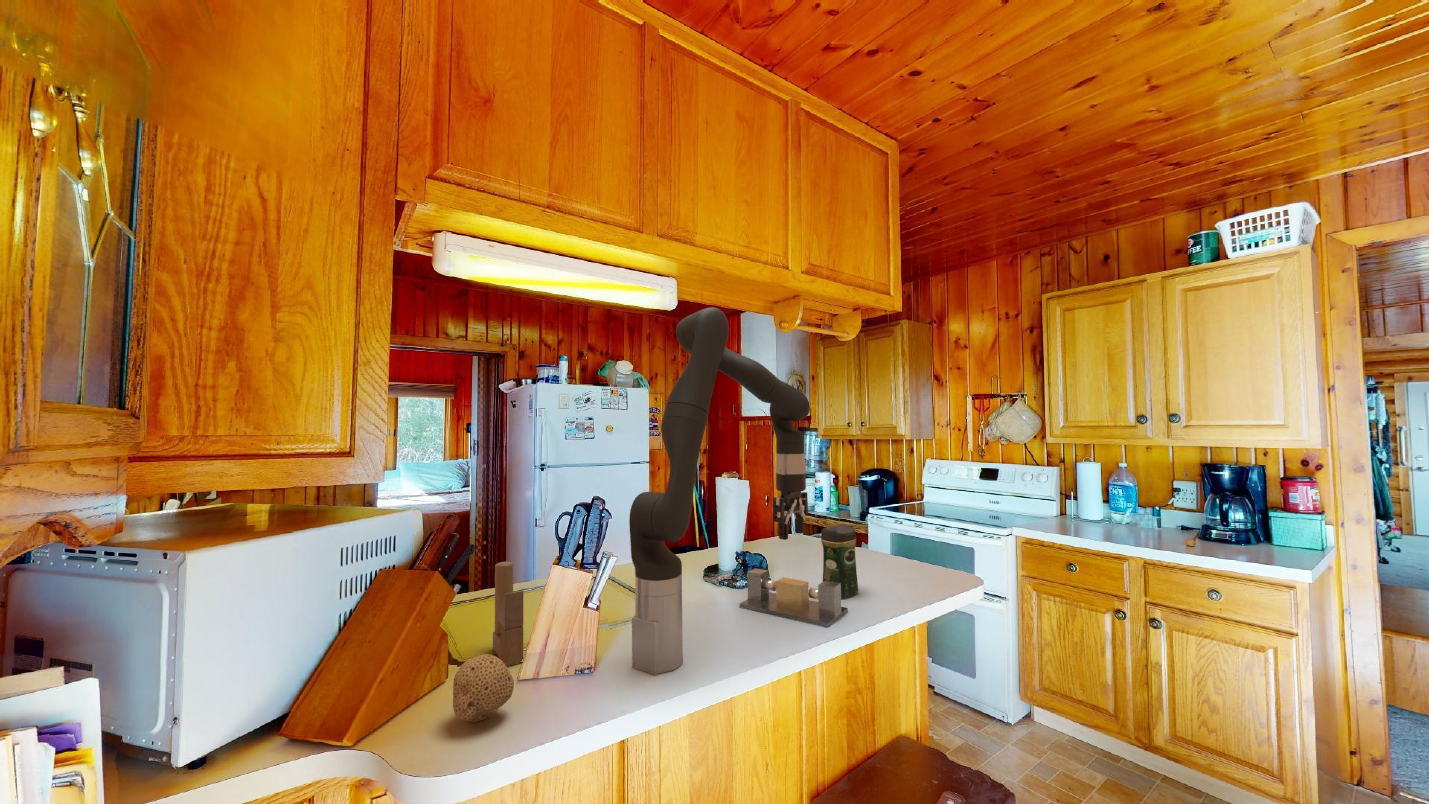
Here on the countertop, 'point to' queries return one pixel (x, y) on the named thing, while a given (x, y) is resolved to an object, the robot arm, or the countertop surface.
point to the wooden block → (507, 616)
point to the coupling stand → (815, 613)
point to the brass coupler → (792, 593)
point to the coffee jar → (840, 557)
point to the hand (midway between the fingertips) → (791, 536)
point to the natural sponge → (481, 687)
